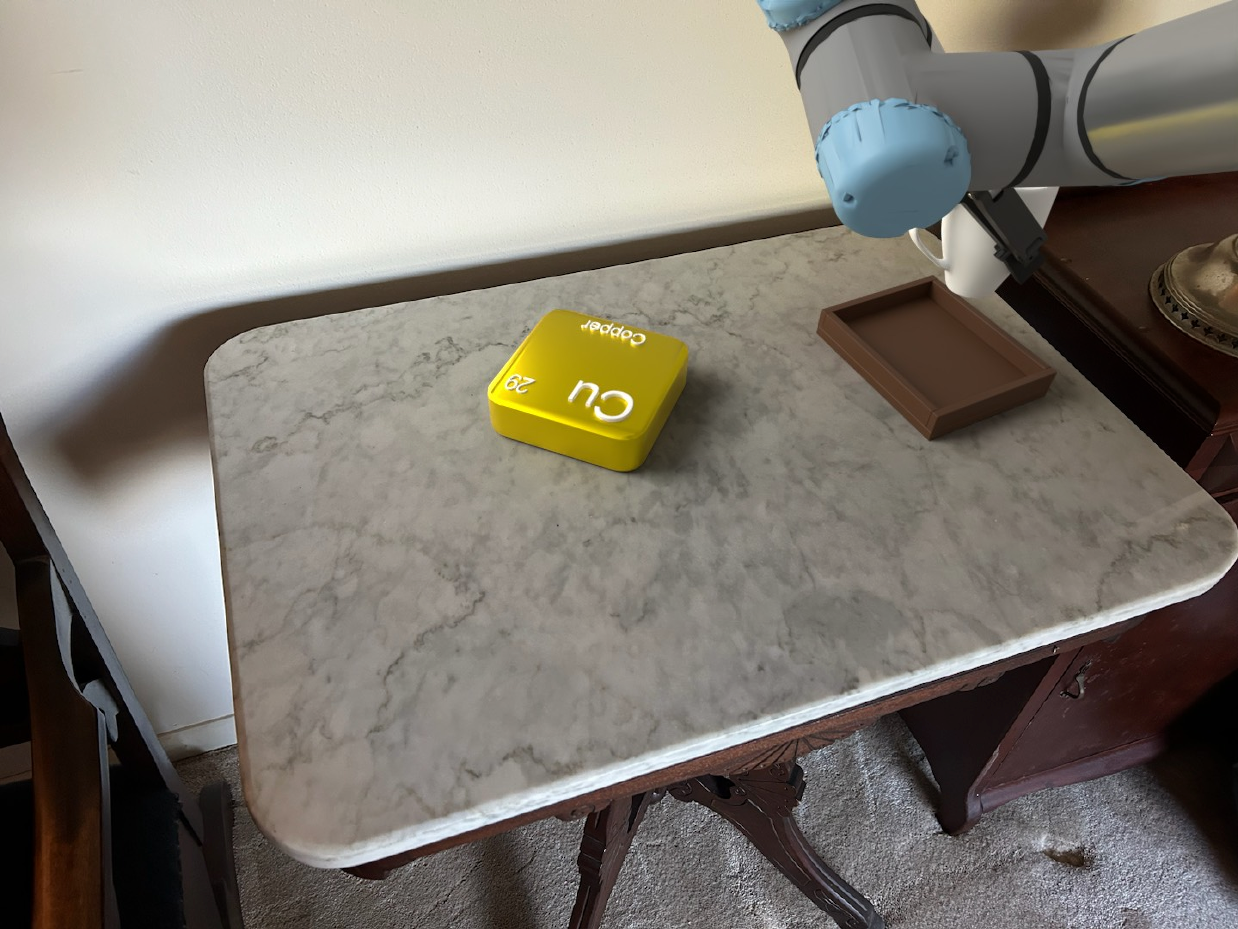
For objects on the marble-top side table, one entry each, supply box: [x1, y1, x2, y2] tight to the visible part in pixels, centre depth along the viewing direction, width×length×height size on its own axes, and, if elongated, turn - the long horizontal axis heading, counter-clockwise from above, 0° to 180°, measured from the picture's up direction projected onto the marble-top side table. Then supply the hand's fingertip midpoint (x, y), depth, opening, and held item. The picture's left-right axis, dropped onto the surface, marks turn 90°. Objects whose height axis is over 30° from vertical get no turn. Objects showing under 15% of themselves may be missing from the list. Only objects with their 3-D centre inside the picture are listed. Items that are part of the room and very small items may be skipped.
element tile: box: [487, 308, 690, 472], centre depth 78 cm, size 15×15×5 cm
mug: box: [908, 187, 1060, 300], centre depth 74 cm, size 12×8×11 cm
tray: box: [815, 274, 1058, 441], centre depth 84 cm, size 18×15×3 cm
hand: (993, 244), depth 76 cm, fingers closed on mug, 8 cm apart
